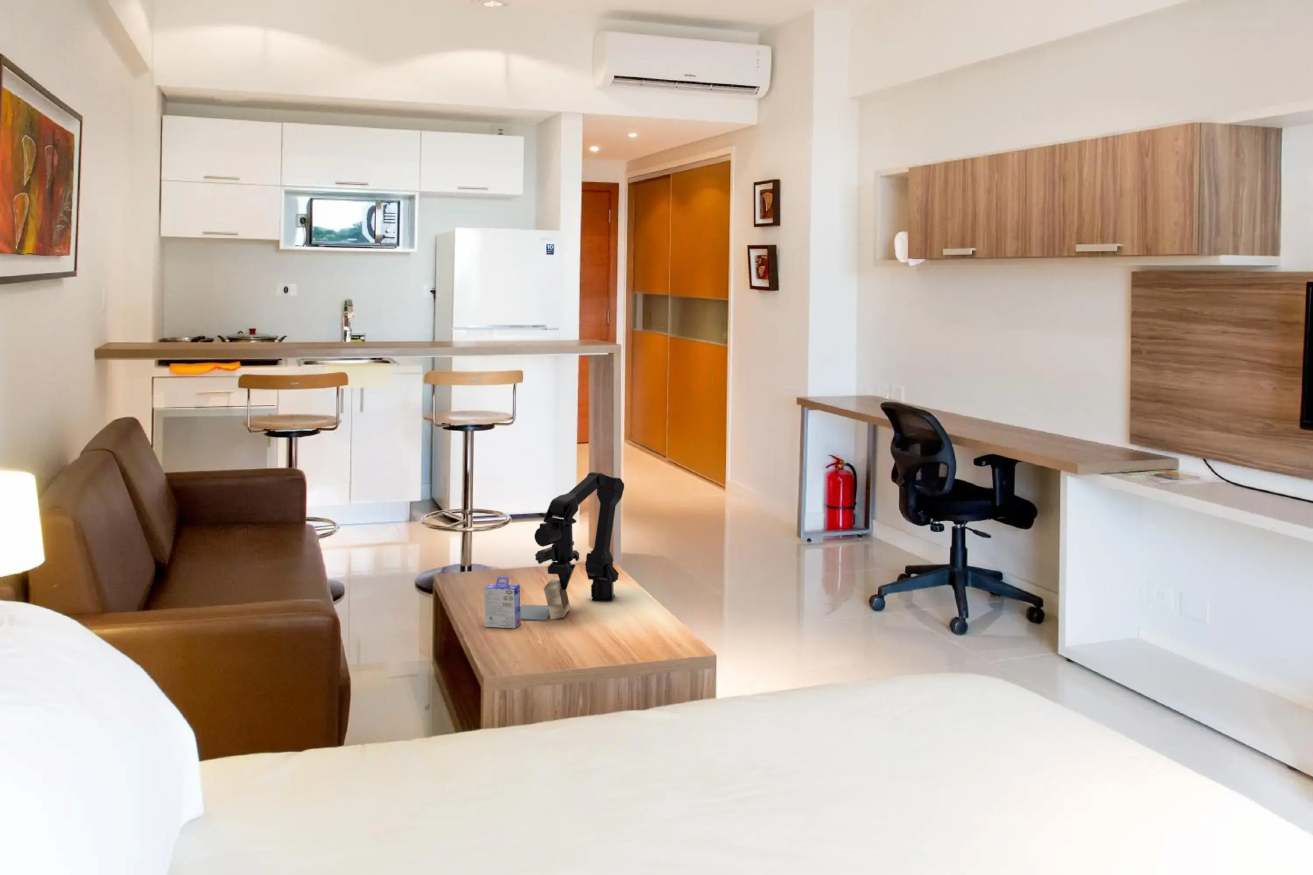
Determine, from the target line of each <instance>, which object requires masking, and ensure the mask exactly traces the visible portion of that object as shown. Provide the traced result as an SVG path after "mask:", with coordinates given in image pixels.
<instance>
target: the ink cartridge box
mask: <svg viewBox="0 0 1313 875" xmlns="http://www.w3.org/2000/svg"><path fill="white" fill-rule="evenodd" d="M500 580H504V581H500ZM509 580H510V577H509V576H508V577H505V576H497V578H496V583H489V584H488V585H486V586H485V587H484V588H483V599H484V600H483V602H484V603H483V605H484V607H483V609H484V627H485V628H504V629H516V628H518V627H519V626H520V625H522V621H521V612H520V607H521V587H520V586H521V585H520V584H510V583H509Z"/></svg>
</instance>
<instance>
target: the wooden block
mask: <svg viewBox="0 0 1313 875" xmlns="http://www.w3.org/2000/svg"><path fill="white" fill-rule="evenodd" d="M543 591H544V596H545V599H546V605H548V609H549V613H550V617H549V618H550V620H556V619H562V618H565V616H566V615H567V613H568V612H569V610H570V609H571V604H570V599H569V596H568V592H567V589H566V590H563V589H562V586H561V583H560V579H559V577H556V578H550V580H549V581H548V582H547V584H545V586H544V587H543Z"/></svg>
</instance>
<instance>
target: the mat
mask: <svg viewBox="0 0 1313 875" xmlns="http://www.w3.org/2000/svg"><path fill="white" fill-rule="evenodd" d="M520 612H521V620H525V622H527V621H529V622H547V621H548V620H549V618H551V617H550V613H549V609H548V604H545V605H544V604H542V605H541V604H521V605H520Z"/></svg>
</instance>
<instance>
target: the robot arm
mask: <svg viewBox="0 0 1313 875" xmlns="http://www.w3.org/2000/svg"><path fill="white" fill-rule="evenodd" d="M624 490H625V483H624V481H623V480H622V478H620V477H614V476H608V475H606V474H604V473H602V472H596V471H595V472H594V471H591V472H589V473H588V474H587V476H586V477H585V478H584V479H582V480H581V481H580V482H579V483H578V484H577V485H576V486H575V487H574V488H572V489H571V490H570V491H568V492H567V493H565V494H560V495H558V496H557V497H554V498H553V499H552V500H551V501H550V502H549V506H548V507H547V510H546V513H545V516H544V518H543V522H542V523H539V527H538V528H537V529H536V530H535V532H534V536H533V537H534V540H535V543H536V544H537V545H538V546H539V547H543V548H544V547H546V548H544V549H541V550H538V551H537V552H536V553H535V554H534V556H535V557H534V558H535V561H536V562H537V563H538V565H541V564H543V563H545V562H548V561H550V560H551V563H550V564H549V565H548V566H547V575H548V574H549V575H558V578H559V579H560V583H561V586H562V589H563V590H566V591H567V589H568V586H569V583H570V580H571V578H572V575H573V573H574V569H575V567H576V564H574V563H571V562H572V561H573V560H575V561H576V562H579V560H580V552H578V550H576V549H575V550H574V545H575V541H574V539H573V524H576V523H577V520H576V519H575V518H574V516H575V515H576V514H577V512H578V511H579V507H580V504H582V502H584V501H585V500H586V499H587V498H588V497H590V495H592V494H593V493H594V492H595V491H596V496H597V498H598V502H599V511H598V518H597V525H596V531H595V540H594V545H593V546H594V547H593V549H592V550H591V551H590V552H588V553H587V554H586V556H585V557H586V559H585V560H586V561H585V563H584V566H585V568H584V569H585V572H586V575H587V578H588V580H590V581H591V580H592V583H591V585H590V596H591V601H594V602H595V601H596V602H597V601H599V602H612V601H613V600H614V598H615V596H616V594H615V593H614V592H615V590H614V589H615V588H614V583H616V582H617V581H618V579H619V572H618V570H616V568H615V567H614V566H613V565H614V558H613V555H612V554H611V551H610V549H611V540H612V533H613V529H614V528H613V527H614V520H615V519H614V518H615V512H616V507H617V505H618V504H619V503H620V501H621V500H622V497H623V494H624ZM547 546H548V547H547Z"/></svg>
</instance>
